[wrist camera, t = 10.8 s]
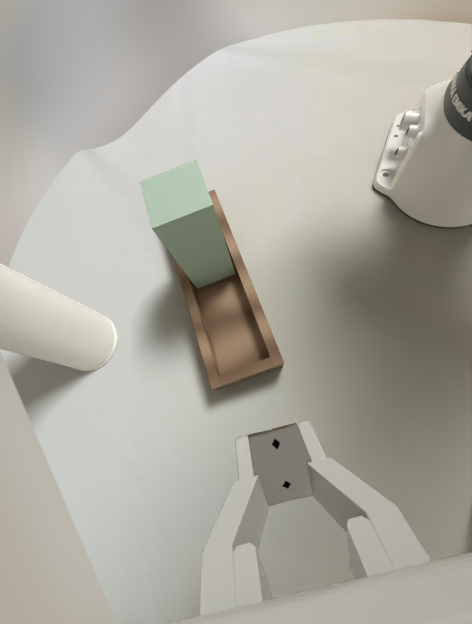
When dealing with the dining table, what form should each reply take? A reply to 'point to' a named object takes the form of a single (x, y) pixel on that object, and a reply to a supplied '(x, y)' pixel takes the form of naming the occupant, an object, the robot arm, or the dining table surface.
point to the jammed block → (188, 223)
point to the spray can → (52, 325)
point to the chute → (230, 321)
